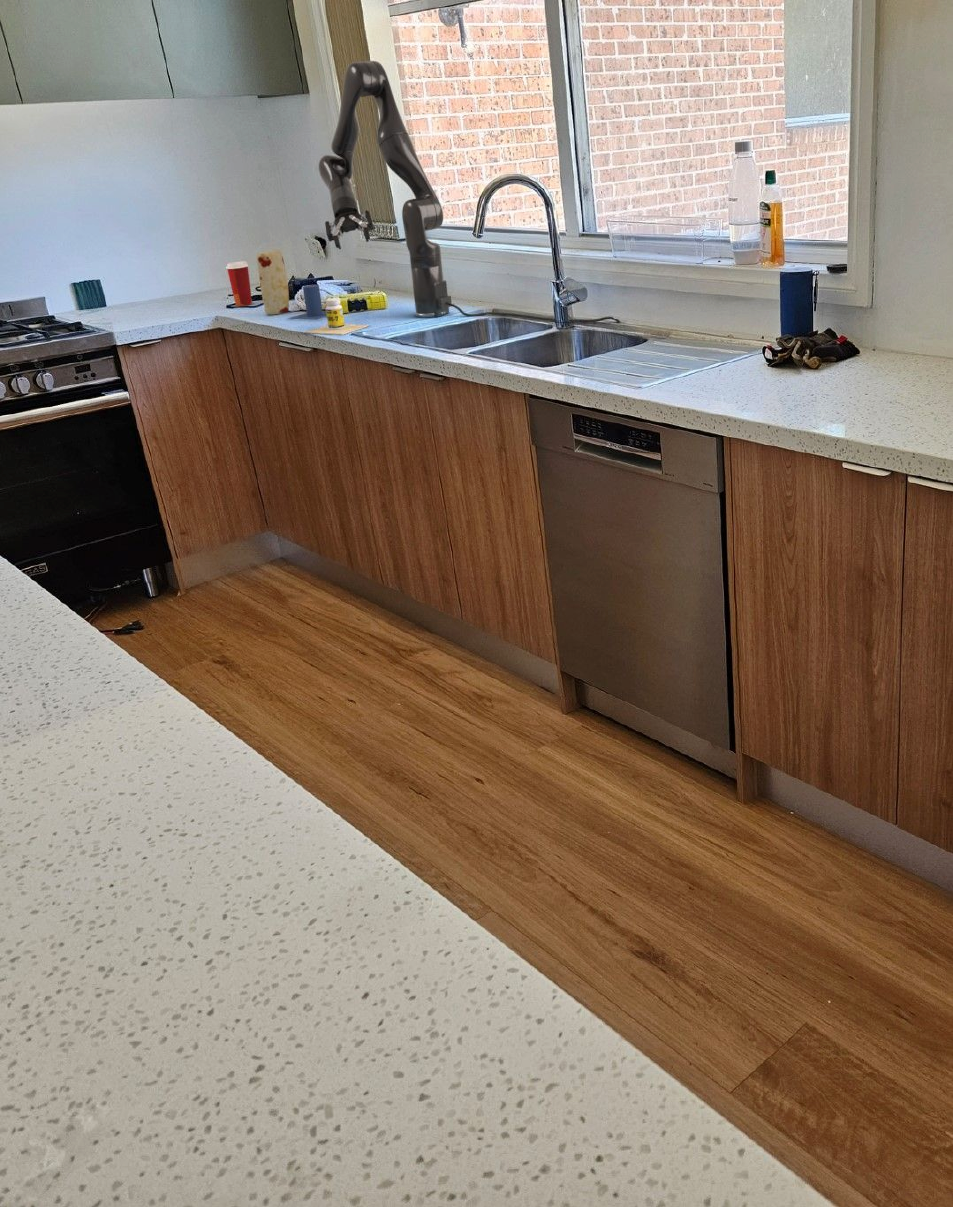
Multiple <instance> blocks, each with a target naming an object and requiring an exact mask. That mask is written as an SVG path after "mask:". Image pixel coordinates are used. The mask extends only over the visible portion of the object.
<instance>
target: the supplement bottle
mask: <svg viewBox="0 0 953 1207" xmlns="http://www.w3.org/2000/svg"><path fill="white" fill-rule="evenodd" d="M325 303H326V306H325V311H326V313H327V317H326V319H327V321H326V322H327V325H328V328H329V329H330V330H339V329H343V328H344V327H345V326H344V324H345V319H344V310H343V306H342V305H341V299H340V298H339V297H333V298H328V299H326V300H325Z"/></svg>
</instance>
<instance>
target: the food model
mask: <svg viewBox="0 0 953 1207" xmlns="http://www.w3.org/2000/svg"><path fill="white" fill-rule="evenodd" d="M256 263H257V264H256V265H257V273H258V282H259V287H260V292H261V297H262V298H261V299H262V302H263V306H264V312H265V314H266V315H267V316H268V315H271V316H272V315H273V316H274V315H280V314H285V313H288V312H289V309H290V300H289V299H290V296H289V295H290V294H289V293H290V292H289V281H288V276H287V270H286V266H285V262H284V257H283V253H282V251H281V250H279V249H270V250H267V251H261V252H260V253H258V254H257V255H256Z"/></svg>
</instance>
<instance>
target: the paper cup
mask: <svg viewBox="0 0 953 1207" xmlns="http://www.w3.org/2000/svg"><path fill="white" fill-rule="evenodd" d="M225 269H226V270H227V273H228V275H227V276H228V278H229V283H230V285H231V286H230V287H231V291H232V295H233V296H232V297H233V300H234V303H235V306H236V307H244V306H245V307H246V306H250V305H252V304H253V299H252V290H251V282H250V273H249V272H250V271H249V264H248V262H247V261H244V260H241V261H233V262H228V263H227V264H226V267H225Z"/></svg>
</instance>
